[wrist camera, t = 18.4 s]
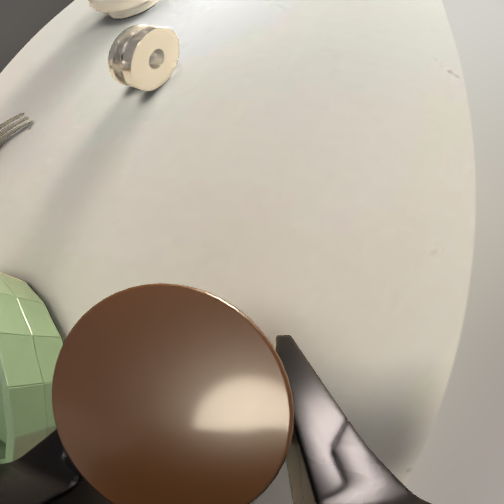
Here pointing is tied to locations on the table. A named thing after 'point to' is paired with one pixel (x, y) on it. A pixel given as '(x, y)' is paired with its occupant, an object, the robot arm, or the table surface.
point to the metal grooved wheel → (143, 56)
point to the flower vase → (121, 7)
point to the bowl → (25, 368)
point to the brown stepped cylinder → (172, 399)
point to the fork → (7, 135)
